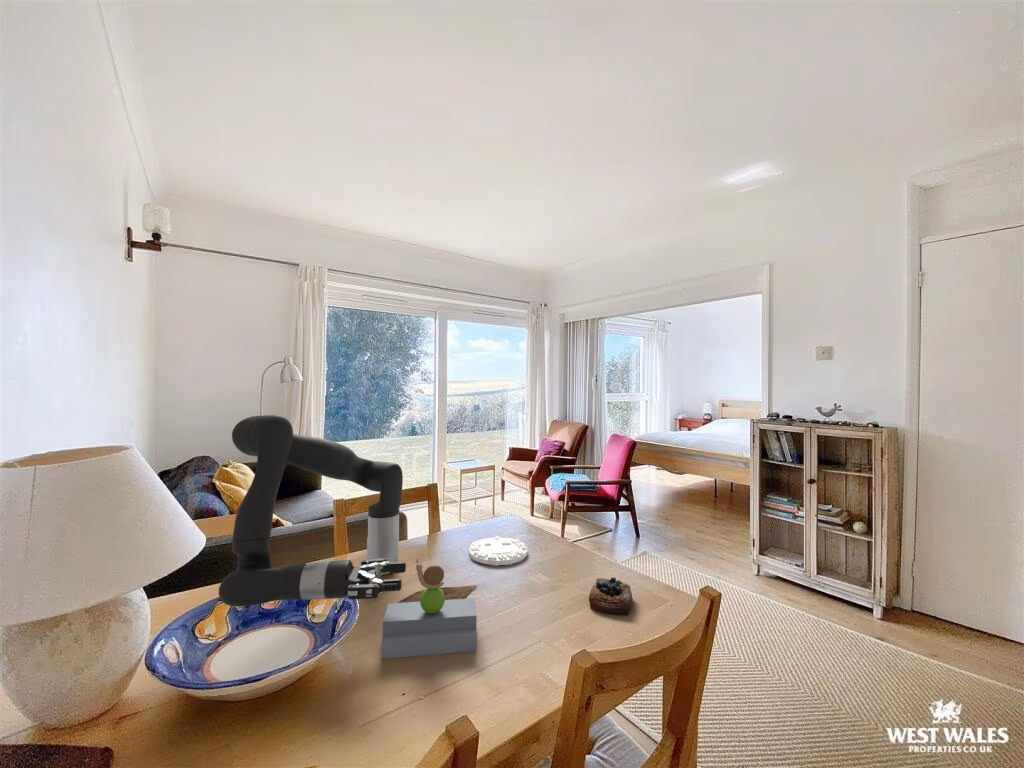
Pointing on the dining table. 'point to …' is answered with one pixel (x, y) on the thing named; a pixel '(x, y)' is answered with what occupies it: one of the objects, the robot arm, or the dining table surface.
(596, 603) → the pastry
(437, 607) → the snail figurine
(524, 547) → the embossed medallion
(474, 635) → the grey stepped block
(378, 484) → the robot arm
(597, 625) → the dining table surface
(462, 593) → the wooden fragment
